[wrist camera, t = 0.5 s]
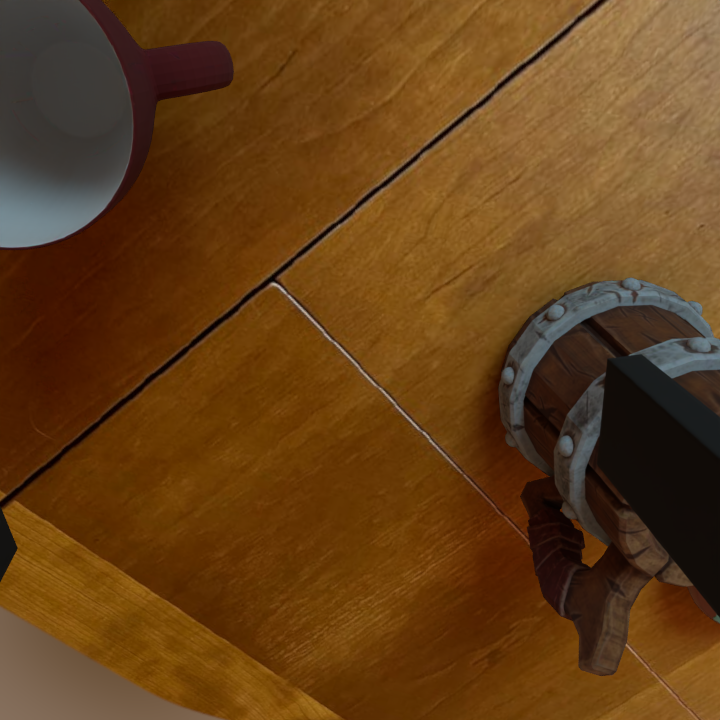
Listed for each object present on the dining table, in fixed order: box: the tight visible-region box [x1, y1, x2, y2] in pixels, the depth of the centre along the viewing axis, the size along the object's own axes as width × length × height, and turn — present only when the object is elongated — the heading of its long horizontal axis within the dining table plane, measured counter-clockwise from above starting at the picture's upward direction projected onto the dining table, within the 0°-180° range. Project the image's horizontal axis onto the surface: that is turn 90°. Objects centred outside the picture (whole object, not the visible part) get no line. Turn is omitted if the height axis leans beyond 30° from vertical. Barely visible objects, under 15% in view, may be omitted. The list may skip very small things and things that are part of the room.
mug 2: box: [498, 278, 720, 676], centre depth 30 cm, size 12×14×15 cm
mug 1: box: [0, 0, 234, 250], centre depth 22 cm, size 10×8×10 cm
